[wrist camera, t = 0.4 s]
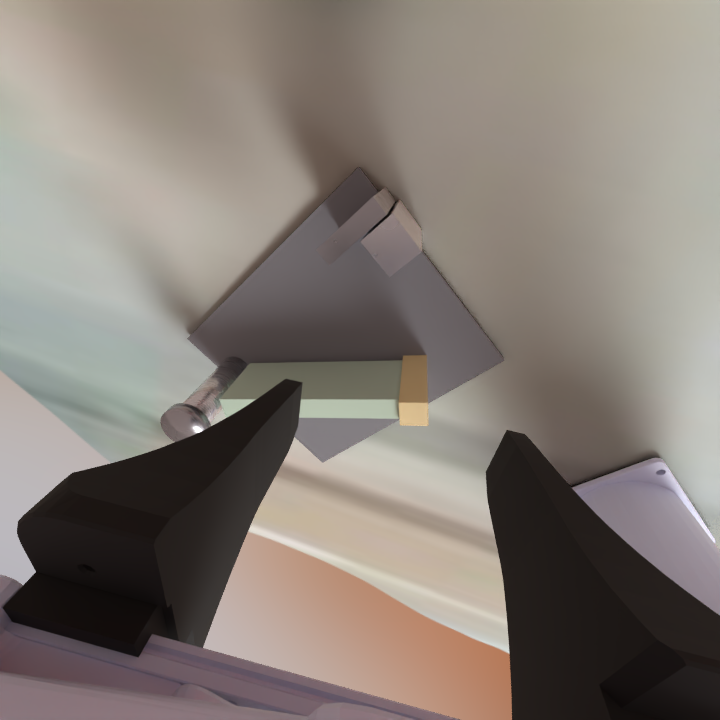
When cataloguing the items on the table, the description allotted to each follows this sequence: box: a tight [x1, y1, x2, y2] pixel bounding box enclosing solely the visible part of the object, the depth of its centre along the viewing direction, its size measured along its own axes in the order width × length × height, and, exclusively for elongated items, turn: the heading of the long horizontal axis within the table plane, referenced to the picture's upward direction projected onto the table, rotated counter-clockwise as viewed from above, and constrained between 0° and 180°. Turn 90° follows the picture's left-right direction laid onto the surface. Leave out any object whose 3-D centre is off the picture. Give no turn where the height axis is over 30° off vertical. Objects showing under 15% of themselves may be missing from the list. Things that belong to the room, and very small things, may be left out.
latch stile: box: [316, 187, 422, 277], centre depth 16 cm, size 3×3×5 cm
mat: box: [187, 167, 504, 462], centre depth 22 cm, size 13×15×1 cm
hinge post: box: [161, 357, 248, 442], centre depth 21 cm, size 2×2×7 cm
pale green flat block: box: [219, 355, 428, 426], centre depth 20 cm, size 1×11×5 cm, turn 96°
